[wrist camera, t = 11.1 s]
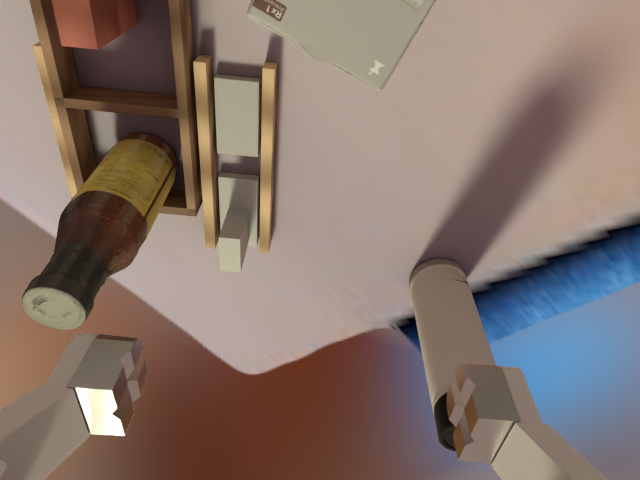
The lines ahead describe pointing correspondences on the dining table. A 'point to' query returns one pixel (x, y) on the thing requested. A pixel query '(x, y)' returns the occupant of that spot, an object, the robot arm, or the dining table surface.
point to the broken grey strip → (235, 189)
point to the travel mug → (446, 332)
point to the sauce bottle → (102, 229)
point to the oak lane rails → (204, 144)
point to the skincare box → (347, 31)
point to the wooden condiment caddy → (71, 99)
